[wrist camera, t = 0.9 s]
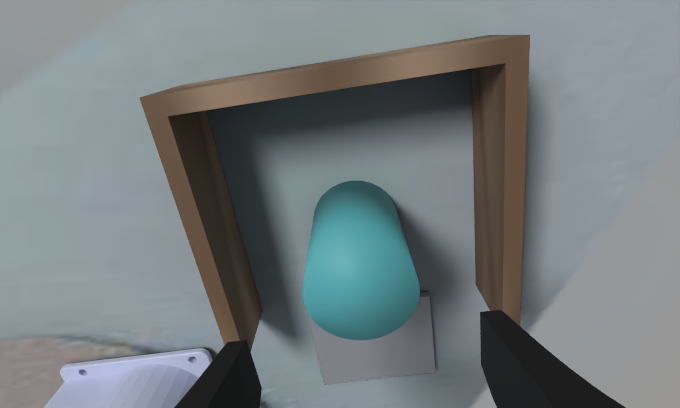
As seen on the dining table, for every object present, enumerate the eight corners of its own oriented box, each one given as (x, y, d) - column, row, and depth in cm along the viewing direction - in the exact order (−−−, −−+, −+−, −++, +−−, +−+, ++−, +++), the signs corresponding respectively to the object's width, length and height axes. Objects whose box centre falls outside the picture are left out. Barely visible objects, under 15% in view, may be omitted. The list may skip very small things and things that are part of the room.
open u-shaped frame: (249, 312, 23) (231, 364, 19) (180, 85, 18) (139, 97, 14) (490, 282, 22) (519, 331, 18) (489, 35, 17) (529, 34, 13)
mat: (324, 379, 25) (324, 384, 25) (307, 306, 23) (307, 310, 22) (434, 367, 25) (435, 372, 24) (428, 291, 22) (429, 296, 22)
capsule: (321, 260, 22) (313, 346, 16) (306, 187, 20) (291, 251, 14) (400, 250, 21) (423, 333, 15) (392, 175, 20) (415, 235, 14)
